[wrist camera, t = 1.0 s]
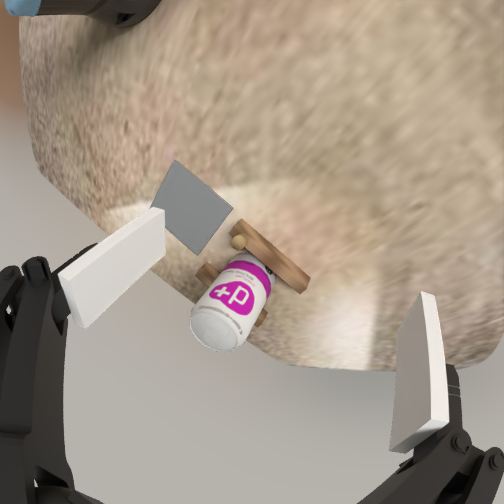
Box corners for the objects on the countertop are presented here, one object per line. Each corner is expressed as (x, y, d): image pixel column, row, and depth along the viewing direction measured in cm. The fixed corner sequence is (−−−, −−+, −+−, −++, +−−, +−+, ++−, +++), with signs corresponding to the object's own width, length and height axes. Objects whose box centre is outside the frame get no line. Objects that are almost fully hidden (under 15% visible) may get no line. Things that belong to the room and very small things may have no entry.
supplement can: (241, 241, 47) (194, 297, 35) (286, 269, 47) (252, 335, 35) (223, 274, 52) (179, 331, 40) (263, 299, 52) (228, 363, 40)
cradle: (203, 266, 53) (190, 280, 49) (242, 217, 45) (230, 230, 41) (262, 316, 54) (254, 332, 50) (311, 277, 46) (305, 294, 42)
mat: (149, 211, 51) (148, 212, 51) (175, 159, 44) (174, 160, 44) (198, 254, 52) (197, 255, 52) (233, 207, 45) (232, 208, 44)
